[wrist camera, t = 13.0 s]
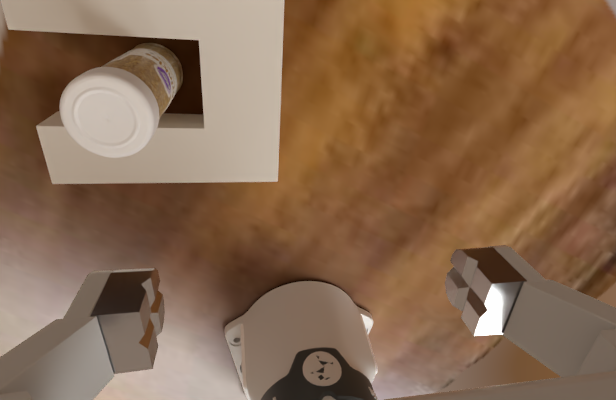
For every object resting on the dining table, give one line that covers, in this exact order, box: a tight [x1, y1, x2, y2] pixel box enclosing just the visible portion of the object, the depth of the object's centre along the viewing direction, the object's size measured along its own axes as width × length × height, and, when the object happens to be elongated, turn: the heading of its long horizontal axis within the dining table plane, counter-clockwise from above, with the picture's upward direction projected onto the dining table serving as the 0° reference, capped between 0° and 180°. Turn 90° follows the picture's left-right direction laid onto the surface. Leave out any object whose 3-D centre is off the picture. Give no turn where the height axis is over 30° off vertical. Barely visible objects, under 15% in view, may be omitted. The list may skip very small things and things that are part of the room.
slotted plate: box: [0, 0, 284, 184], centre depth 29 cm, size 16×18×4 cm
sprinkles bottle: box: [59, 43, 183, 158], centre depth 25 cm, size 5×5×14 cm
